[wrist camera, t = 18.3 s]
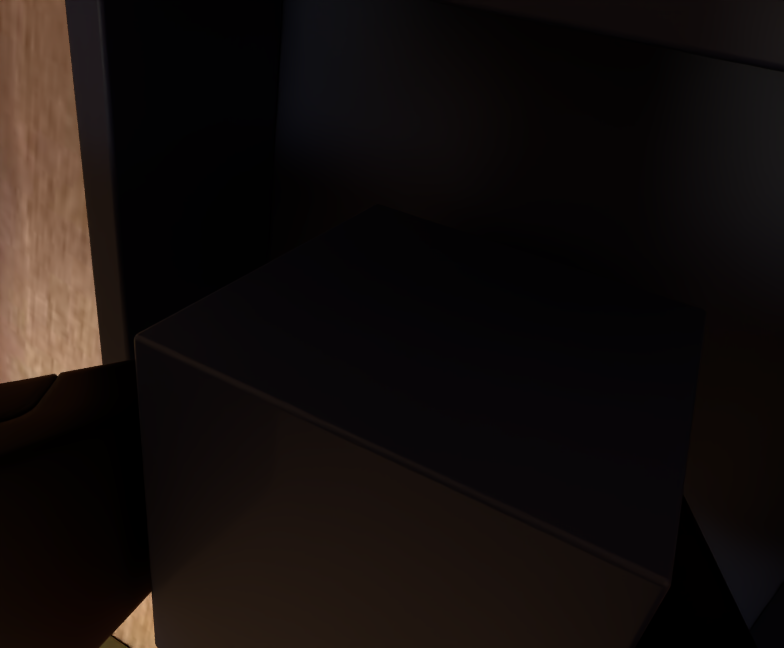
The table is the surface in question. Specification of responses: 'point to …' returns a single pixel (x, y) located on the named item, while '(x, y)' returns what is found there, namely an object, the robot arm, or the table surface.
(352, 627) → the navy block
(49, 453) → the robot arm
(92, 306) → the table surface
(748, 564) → the navy bin
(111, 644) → the sage bin
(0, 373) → the table surface
